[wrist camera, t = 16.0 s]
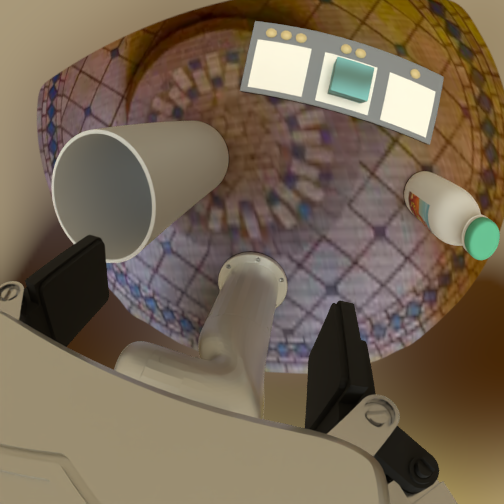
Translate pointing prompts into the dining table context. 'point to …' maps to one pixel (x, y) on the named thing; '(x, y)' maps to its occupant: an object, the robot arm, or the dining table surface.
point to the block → (351, 80)
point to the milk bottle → (451, 214)
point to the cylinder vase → (134, 181)
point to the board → (320, 70)
